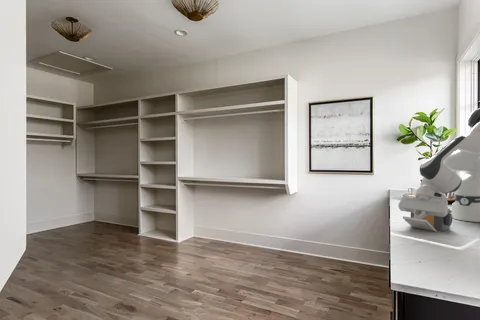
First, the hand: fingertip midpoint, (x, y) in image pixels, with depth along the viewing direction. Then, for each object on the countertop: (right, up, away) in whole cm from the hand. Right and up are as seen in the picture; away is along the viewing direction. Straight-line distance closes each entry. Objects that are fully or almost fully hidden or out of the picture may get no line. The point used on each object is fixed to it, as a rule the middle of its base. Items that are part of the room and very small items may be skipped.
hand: (417, 219), depth 134 cm
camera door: (+8, -6, +6) cm, 12 cm away
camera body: (+12, -7, +9) cm, 17 cm away
